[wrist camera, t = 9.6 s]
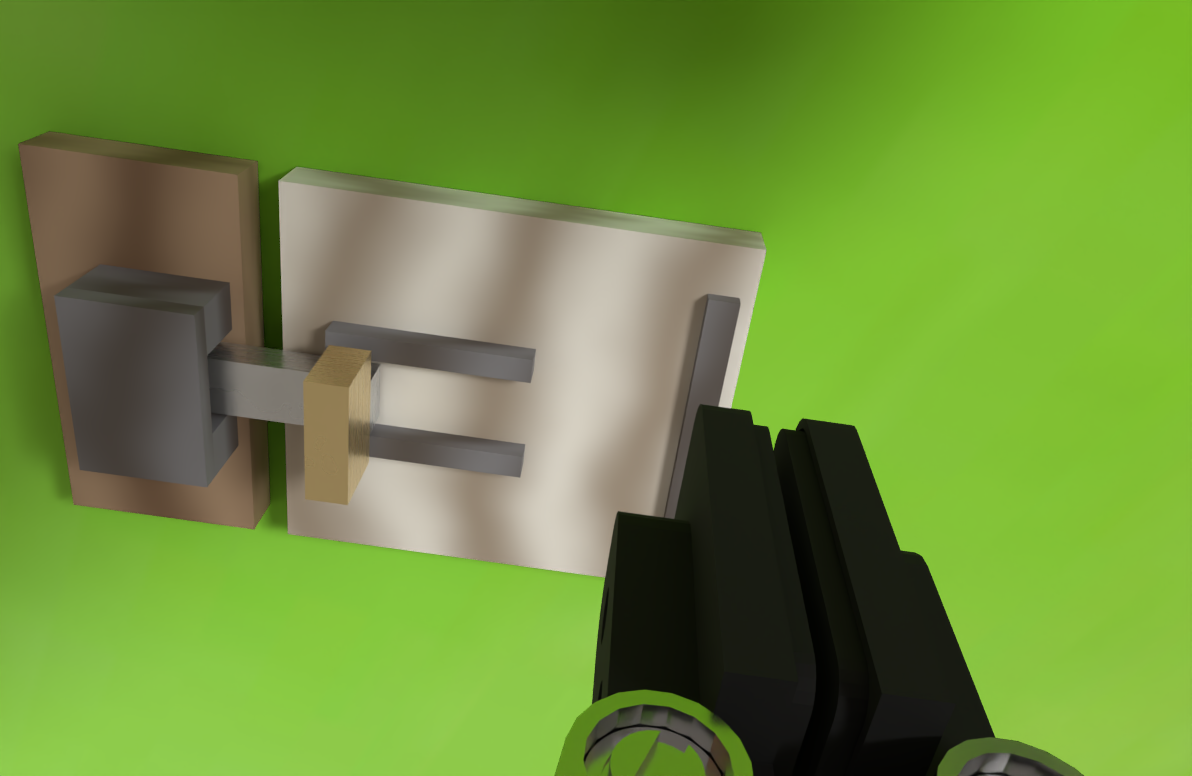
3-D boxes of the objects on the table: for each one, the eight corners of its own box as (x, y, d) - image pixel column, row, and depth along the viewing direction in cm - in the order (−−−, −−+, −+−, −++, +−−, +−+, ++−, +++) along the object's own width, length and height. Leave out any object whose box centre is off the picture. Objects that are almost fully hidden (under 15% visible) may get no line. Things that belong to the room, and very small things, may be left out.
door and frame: (760, 232, 37) (776, 281, 32) (688, 560, 44) (693, 639, 40) (49, 131, 36) (-39, 166, 32) (97, 479, 44) (31, 549, 39)
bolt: (381, 334, 37) (349, 387, 33) (378, 443, 40) (347, 504, 36) (125, 298, 37) (62, 347, 33) (137, 409, 39) (80, 468, 35)
